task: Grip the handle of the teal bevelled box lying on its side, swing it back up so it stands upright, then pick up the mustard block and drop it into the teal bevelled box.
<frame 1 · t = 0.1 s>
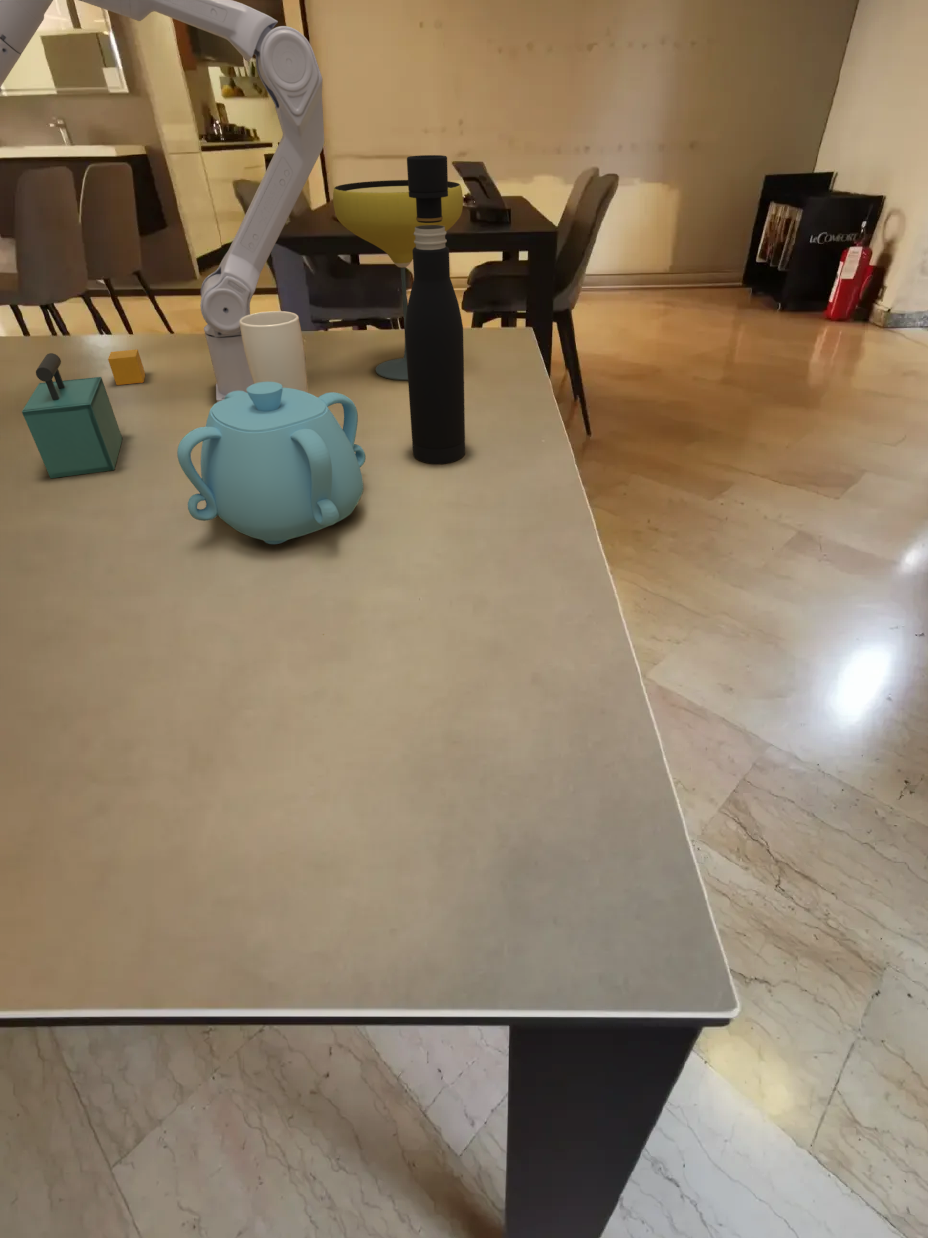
teal bevelled box: (70, 410, 79), point 6 cm above the table, hinge at 90.0°
black bottle: (439, 454, 82), on the table
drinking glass: (292, 445, 85), on the table
decorative pot: (290, 516, 70), on the table
block: (131, 380, 106), on the table
cocktail glass: (409, 370, 108), on the table
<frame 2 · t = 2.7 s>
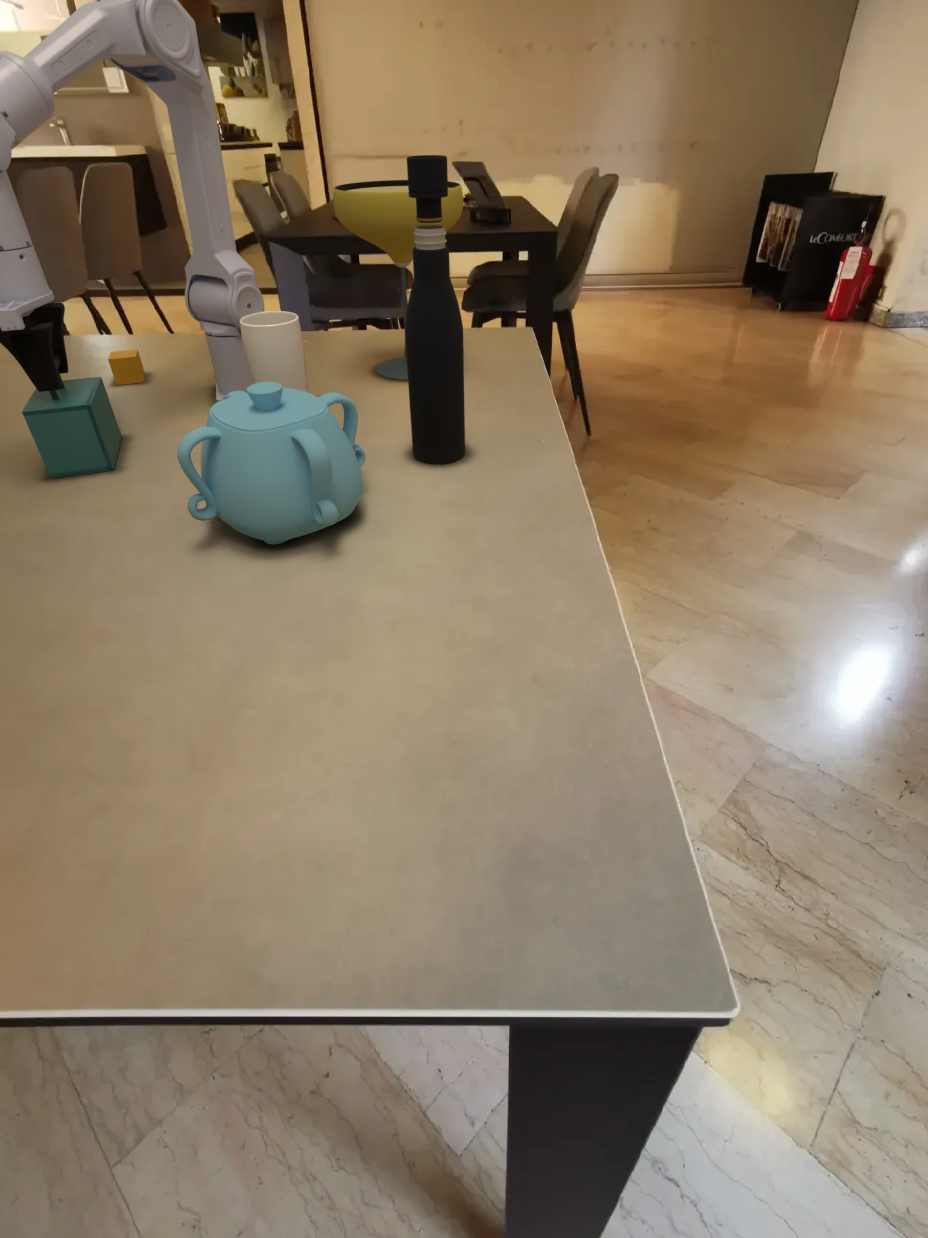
hand: (54, 381, 77), 9 cm above the table, tool pointing down, fingers closed on teal bevelled box, 5 cm apart
teal bevelled box: (70, 410, 79), point 6 cm above the table, hinge at 90.0°, touching gripper
everything else where it was.
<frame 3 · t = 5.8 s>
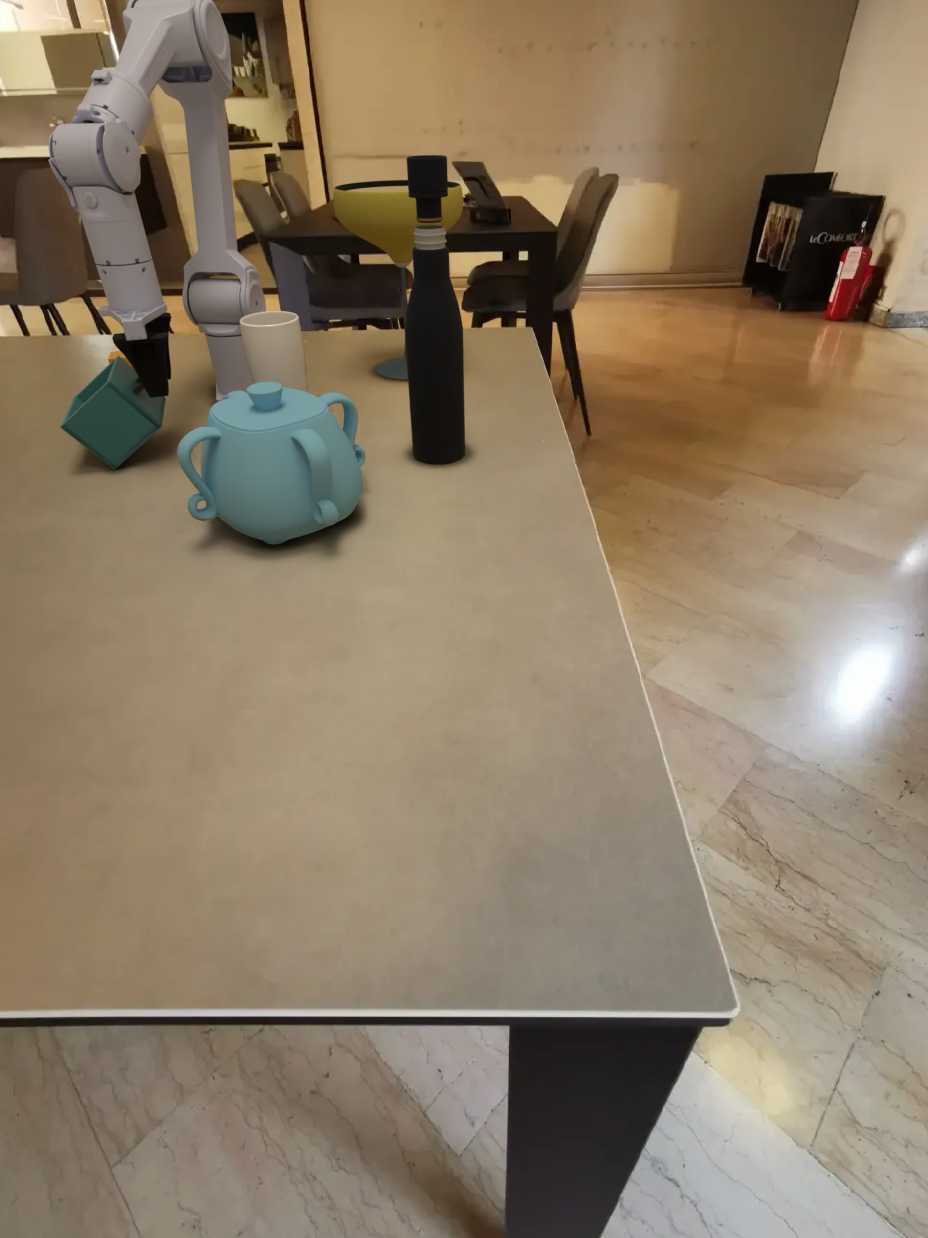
hand: (161, 387, 80), 7 cm above the table, tool pointing down, fingers closed on teal bevelled box, 5 cm apart
teal bevelled box: (127, 401, 80), point 6 cm above the table, hinge at 34.0°, touching gripper
everything else where it was.
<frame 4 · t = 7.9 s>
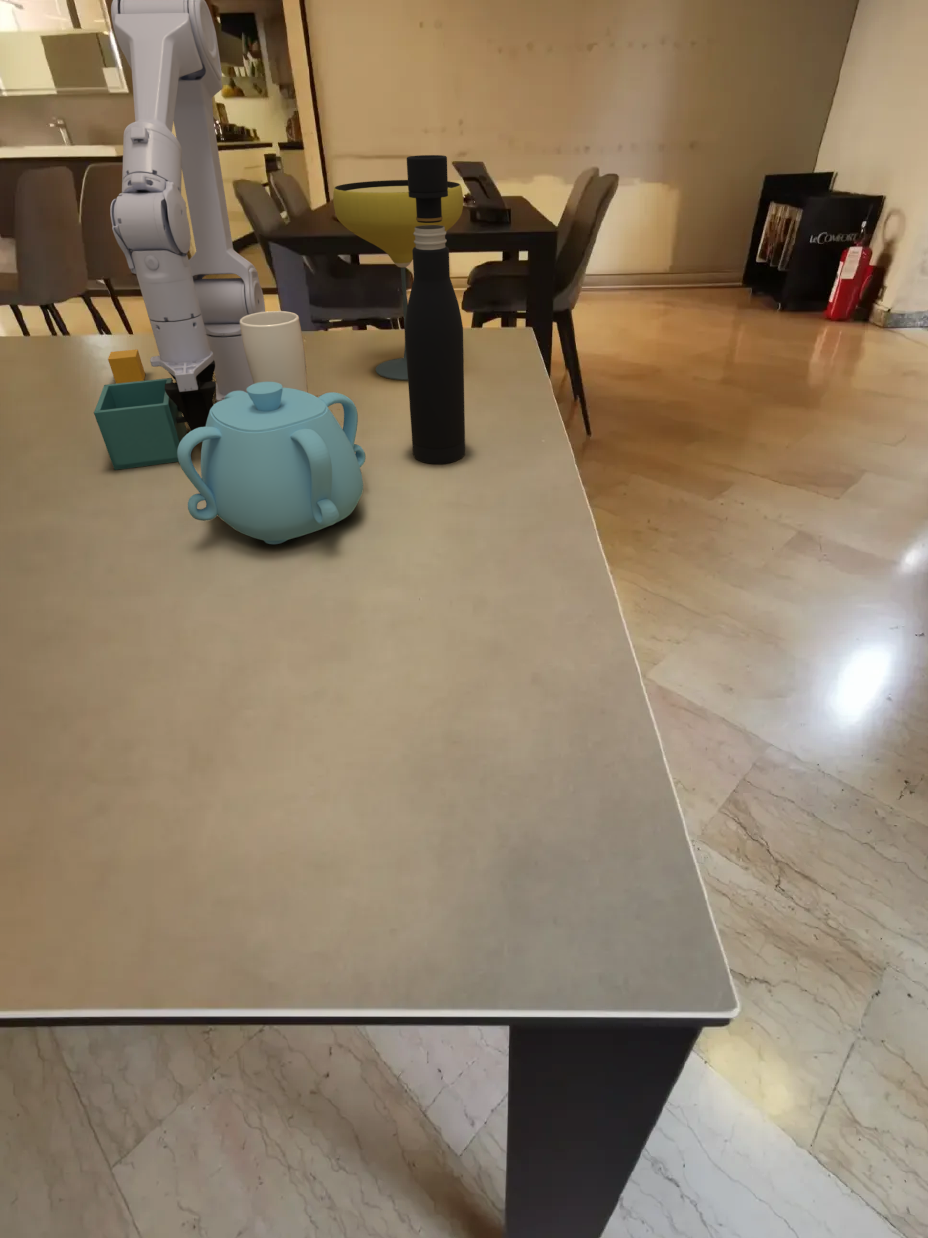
hand: (205, 430, 85), 2 cm above the table, tool pointing down, fingers closed on teal bevelled box, 5 cm apart
teal bevelled box: (160, 420, 82), point 3 cm above the table, hinge at 0.0°, touching gripper
everything else where it was.
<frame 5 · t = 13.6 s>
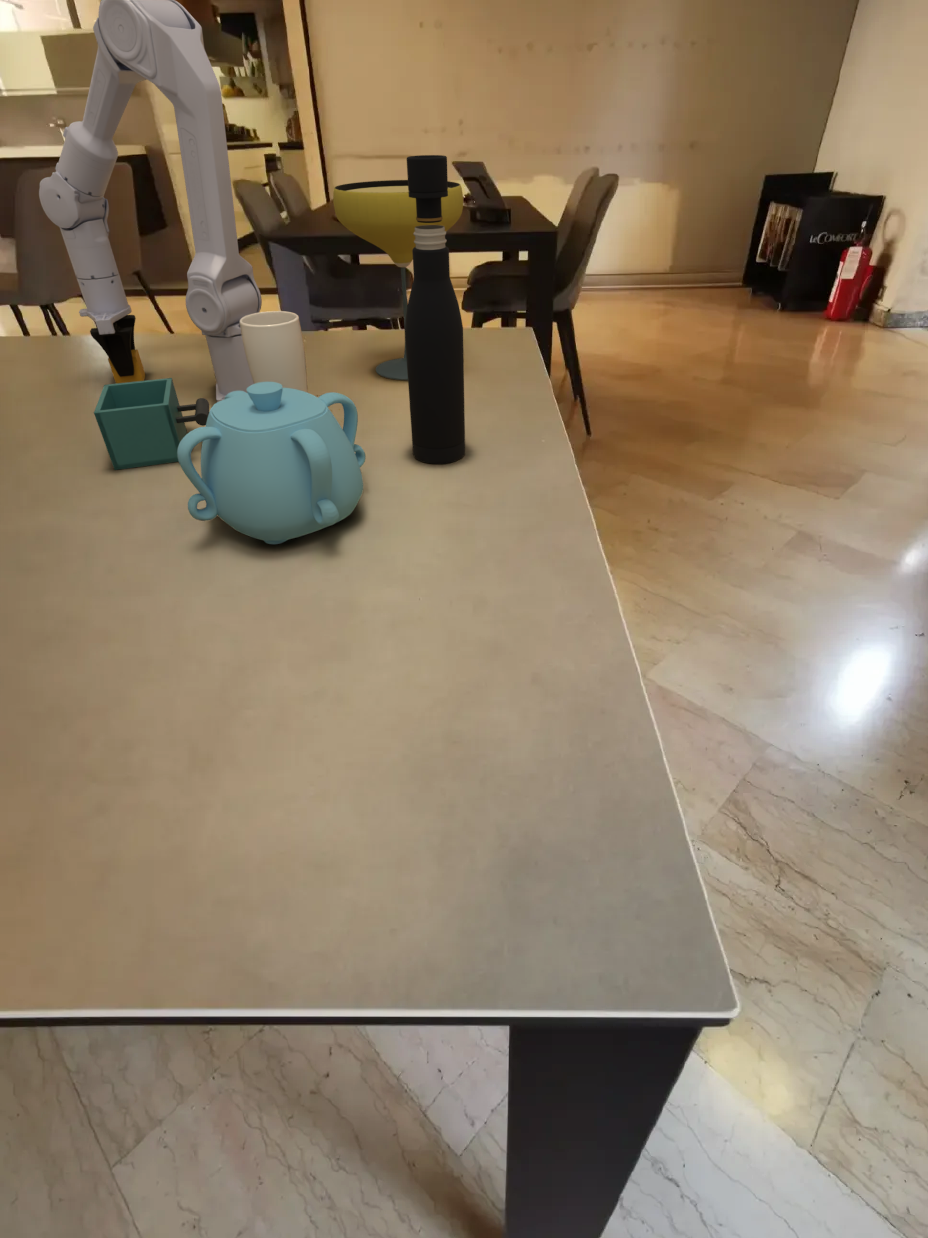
hand: (128, 370, 105), 1 cm above the table, tool pointing down, fingers closed on block, 4 cm apart
teal bevelled box: (160, 420, 82), point 3 cm above the table, hinge at 0.0°
block: (131, 380, 106), on the table, touching gripper
everything else where it was.
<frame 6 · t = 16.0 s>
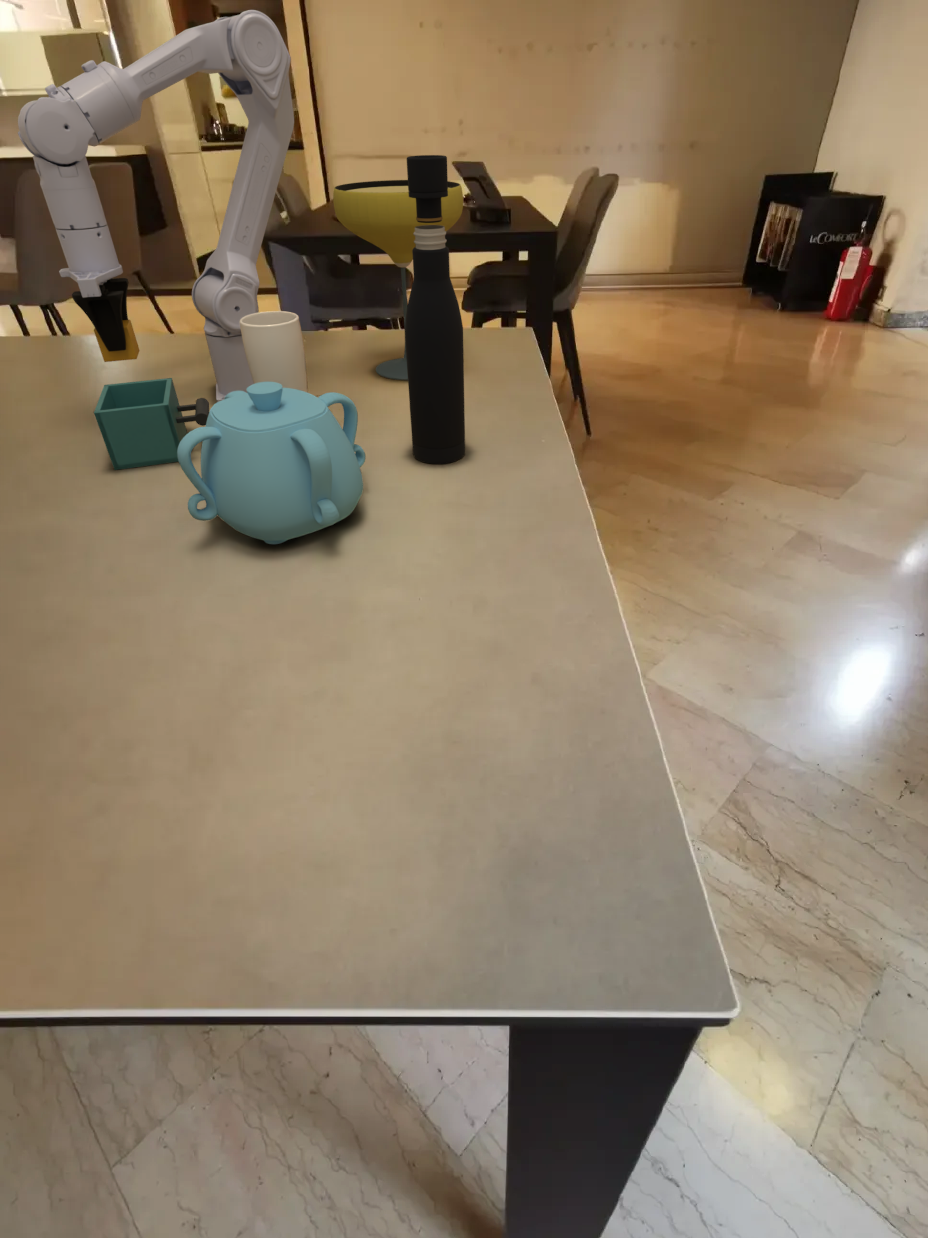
hand: (119, 345, 88), 9 cm above the table, tool pointing down, fingers closed on block, 4 cm apart
block: (122, 356, 89), point 8 cm above the table, touching gripper
everything else where it was.
when the fingers open (5 cm above the table, at t = 18.7 s): block drops 3 cm, resting on teal bevelled box.
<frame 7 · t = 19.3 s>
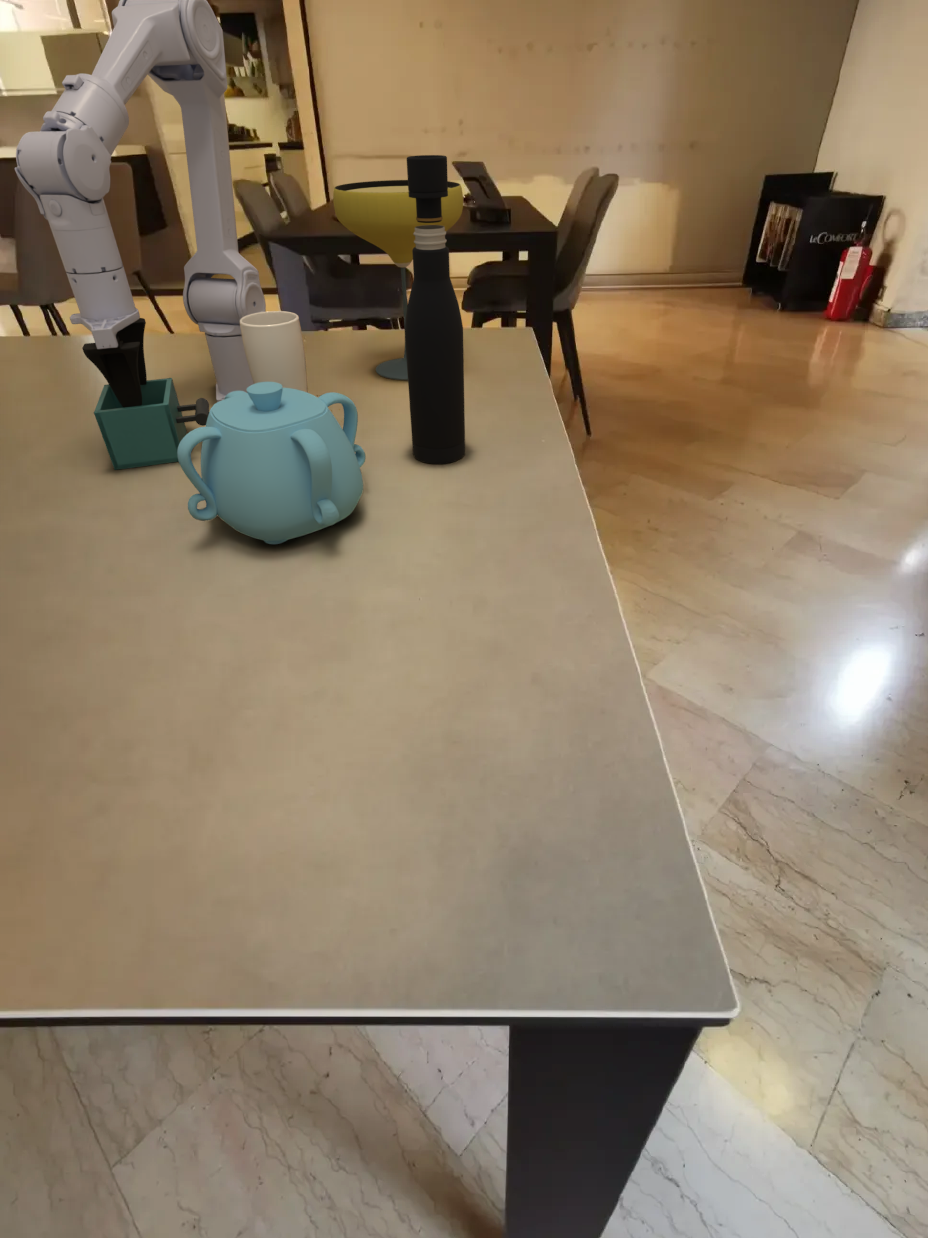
hand: (135, 394, 80), 7 cm above the table, tool pointing down, fingers open, 7 cm apart
teal bevelled box: (160, 420, 82), point 3 cm above the table, hinge at 0.0°, touching block
block: (150, 444, 84), point 1 cm above the table, touching teal bevelled box
everything else where it was.
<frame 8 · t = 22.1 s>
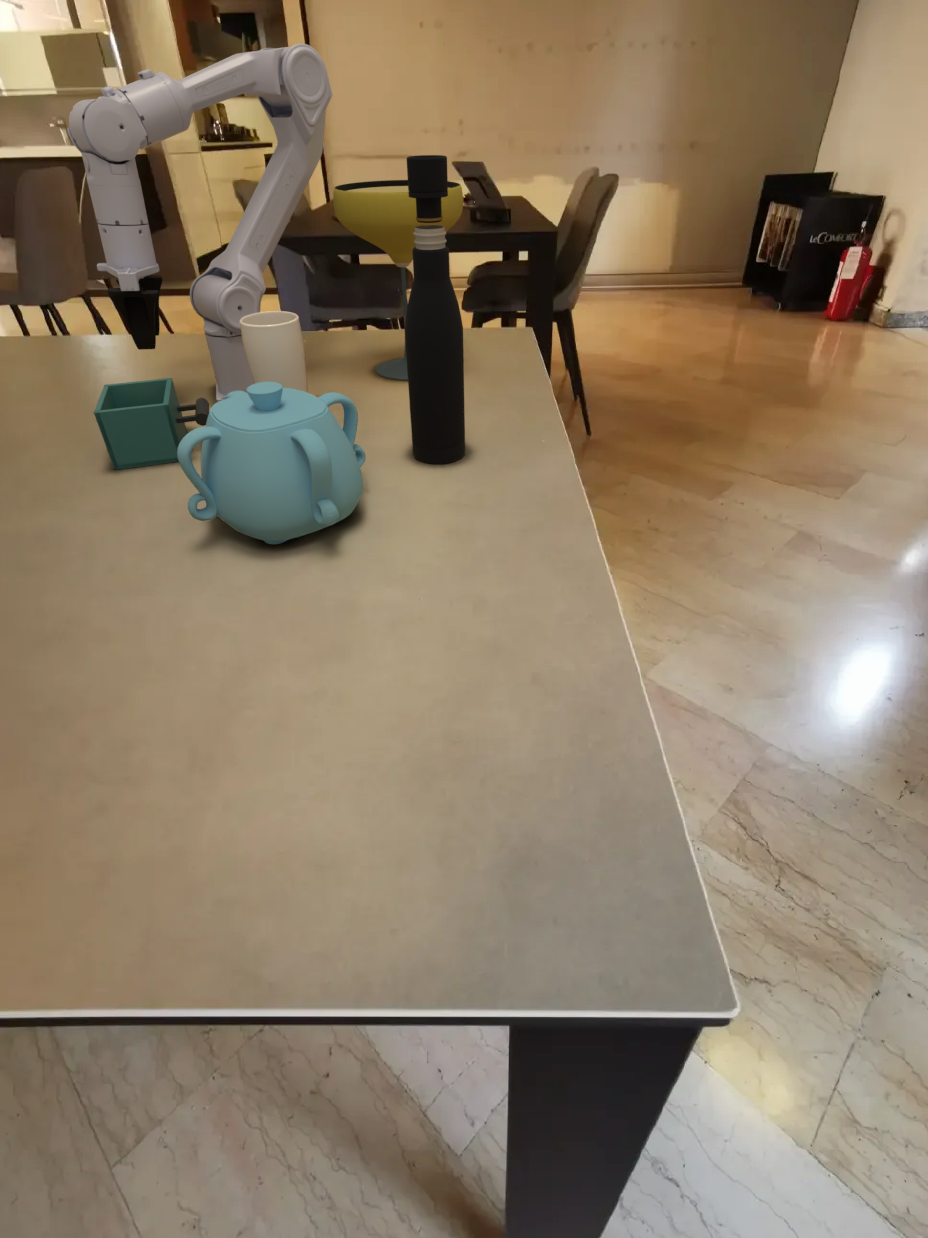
hand: (149, 341, 89), 9 cm above the table, tool pointing down, fingers open, 7 cm apart
nothing on the table moved.
at the end: teal bevelled box at +0° (first picture: +90°); block inside the target area on the teal bevelled box (0.1 cm from its centre), point 0.6 cm above the teal bevelled box's base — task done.
